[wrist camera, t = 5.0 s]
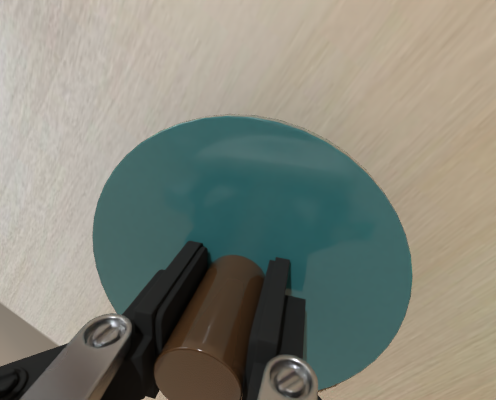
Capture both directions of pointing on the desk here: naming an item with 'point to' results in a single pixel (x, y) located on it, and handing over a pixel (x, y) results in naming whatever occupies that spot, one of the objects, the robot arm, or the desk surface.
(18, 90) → the desk surface
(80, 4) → the desk surface
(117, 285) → the lid
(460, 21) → the desk surface
